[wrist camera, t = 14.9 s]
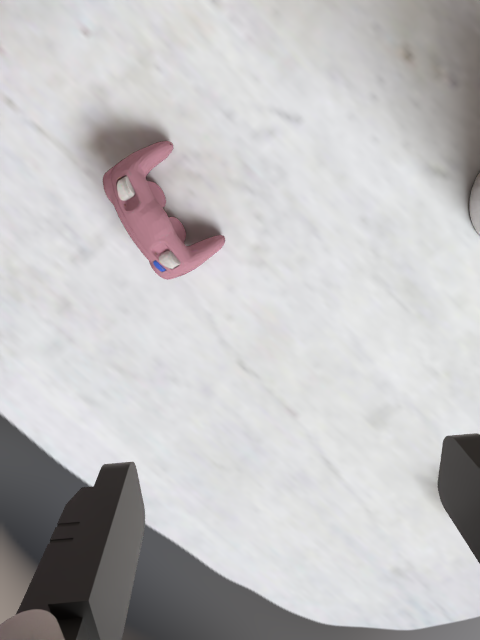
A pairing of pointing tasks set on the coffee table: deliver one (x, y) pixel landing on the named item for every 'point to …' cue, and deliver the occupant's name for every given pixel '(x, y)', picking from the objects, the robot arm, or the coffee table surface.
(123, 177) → the video game controller
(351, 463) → the coffee table surface
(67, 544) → the robot arm
